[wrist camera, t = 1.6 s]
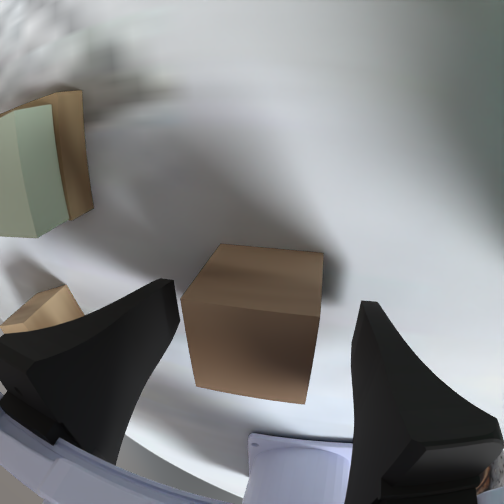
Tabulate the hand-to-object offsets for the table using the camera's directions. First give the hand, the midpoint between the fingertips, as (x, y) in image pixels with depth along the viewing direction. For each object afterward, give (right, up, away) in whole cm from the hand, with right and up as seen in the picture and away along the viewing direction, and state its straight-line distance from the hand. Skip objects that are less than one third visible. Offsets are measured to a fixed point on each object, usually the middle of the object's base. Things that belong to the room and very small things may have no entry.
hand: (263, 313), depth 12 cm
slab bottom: (-10, +7, +1) cm, 13 cm away
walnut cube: (0, +1, +1) cm, 2 cm away
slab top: (-11, +6, 0) cm, 12 cm away
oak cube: (-12, -2, +6) cm, 14 cm away
